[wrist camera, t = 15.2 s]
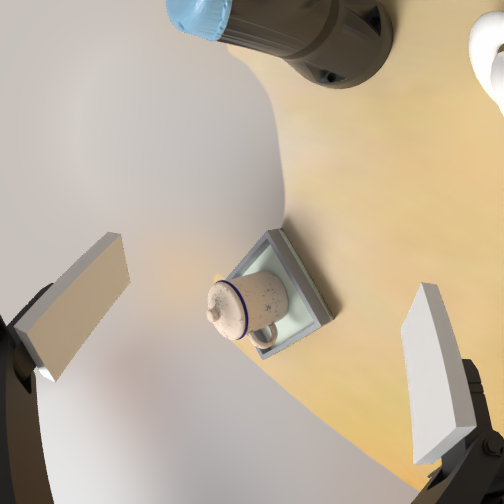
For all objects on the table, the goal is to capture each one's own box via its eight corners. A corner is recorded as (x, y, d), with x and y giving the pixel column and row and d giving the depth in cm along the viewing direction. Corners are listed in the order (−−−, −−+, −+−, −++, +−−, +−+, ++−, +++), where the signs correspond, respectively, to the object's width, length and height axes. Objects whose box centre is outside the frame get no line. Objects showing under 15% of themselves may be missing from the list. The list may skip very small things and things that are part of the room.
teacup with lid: (244, 287, 57) (187, 304, 50) (269, 257, 51) (206, 272, 43) (278, 346, 52) (222, 372, 45) (309, 322, 46) (248, 351, 39)
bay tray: (236, 279, 60) (222, 282, 58) (281, 228, 49) (267, 230, 47) (275, 354, 55) (262, 360, 53) (334, 319, 43) (321, 326, 42)
